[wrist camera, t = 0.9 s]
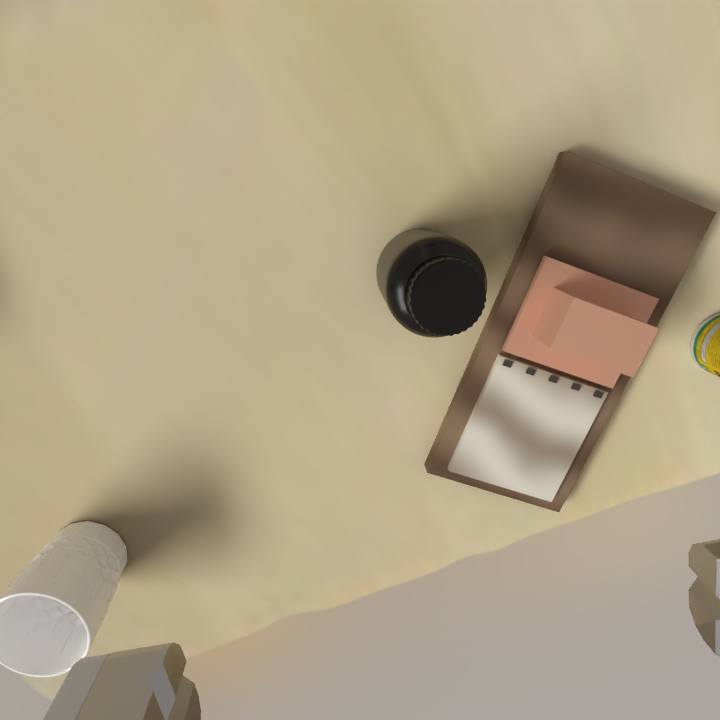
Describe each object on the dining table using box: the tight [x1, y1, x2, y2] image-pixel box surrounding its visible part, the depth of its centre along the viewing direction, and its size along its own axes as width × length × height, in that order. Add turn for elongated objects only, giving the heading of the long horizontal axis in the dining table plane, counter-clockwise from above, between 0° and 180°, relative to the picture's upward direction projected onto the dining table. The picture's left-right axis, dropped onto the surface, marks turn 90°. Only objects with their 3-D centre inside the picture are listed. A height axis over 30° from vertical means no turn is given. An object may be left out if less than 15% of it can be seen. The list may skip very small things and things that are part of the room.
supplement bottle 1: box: [377, 229, 487, 337], centre depth 39 cm, size 7×7×12 cm
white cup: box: [0, 521, 127, 677], centre depth 46 cm, size 8×8×10 cm
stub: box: [502, 256, 659, 389], centre depth 43 cm, size 8×10×5 cm
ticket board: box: [425, 152, 716, 512], centre depth 46 cm, size 28×13×2 cm, turn 160°
